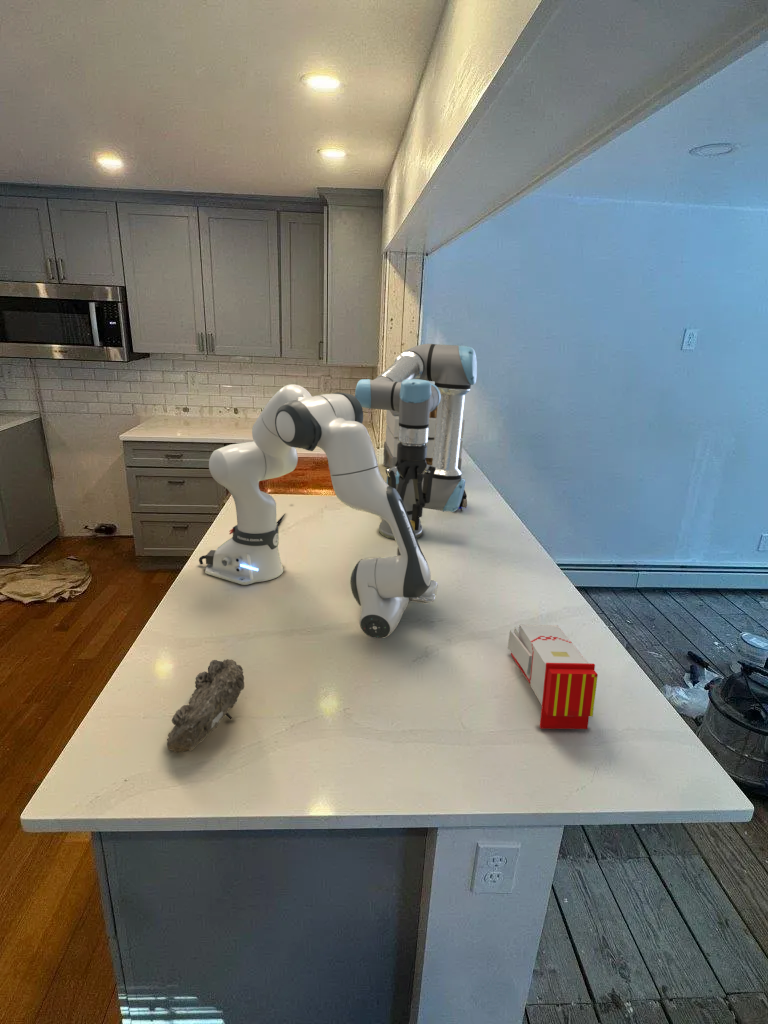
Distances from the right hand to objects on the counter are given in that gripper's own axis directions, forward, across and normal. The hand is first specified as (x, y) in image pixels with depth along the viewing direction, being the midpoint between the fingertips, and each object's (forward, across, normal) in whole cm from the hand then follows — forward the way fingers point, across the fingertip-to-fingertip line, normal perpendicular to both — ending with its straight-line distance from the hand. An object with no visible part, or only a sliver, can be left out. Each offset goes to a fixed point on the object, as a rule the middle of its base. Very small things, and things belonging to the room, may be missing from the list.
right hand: (407, 529), depth 150 cm
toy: (+20, -10, +46) cm, 52 cm away
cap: (-2, 0, 0) cm, 2 cm away
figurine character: (+20, -54, -60) cm, 83 cm away
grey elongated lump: (+20, +56, +31) cm, 67 cm away
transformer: (+20, -63, -109) cm, 127 cm away
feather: (+20, +15, -70) cm, 74 cm away
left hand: (+13, 0, -1) cm, 13 cm away
